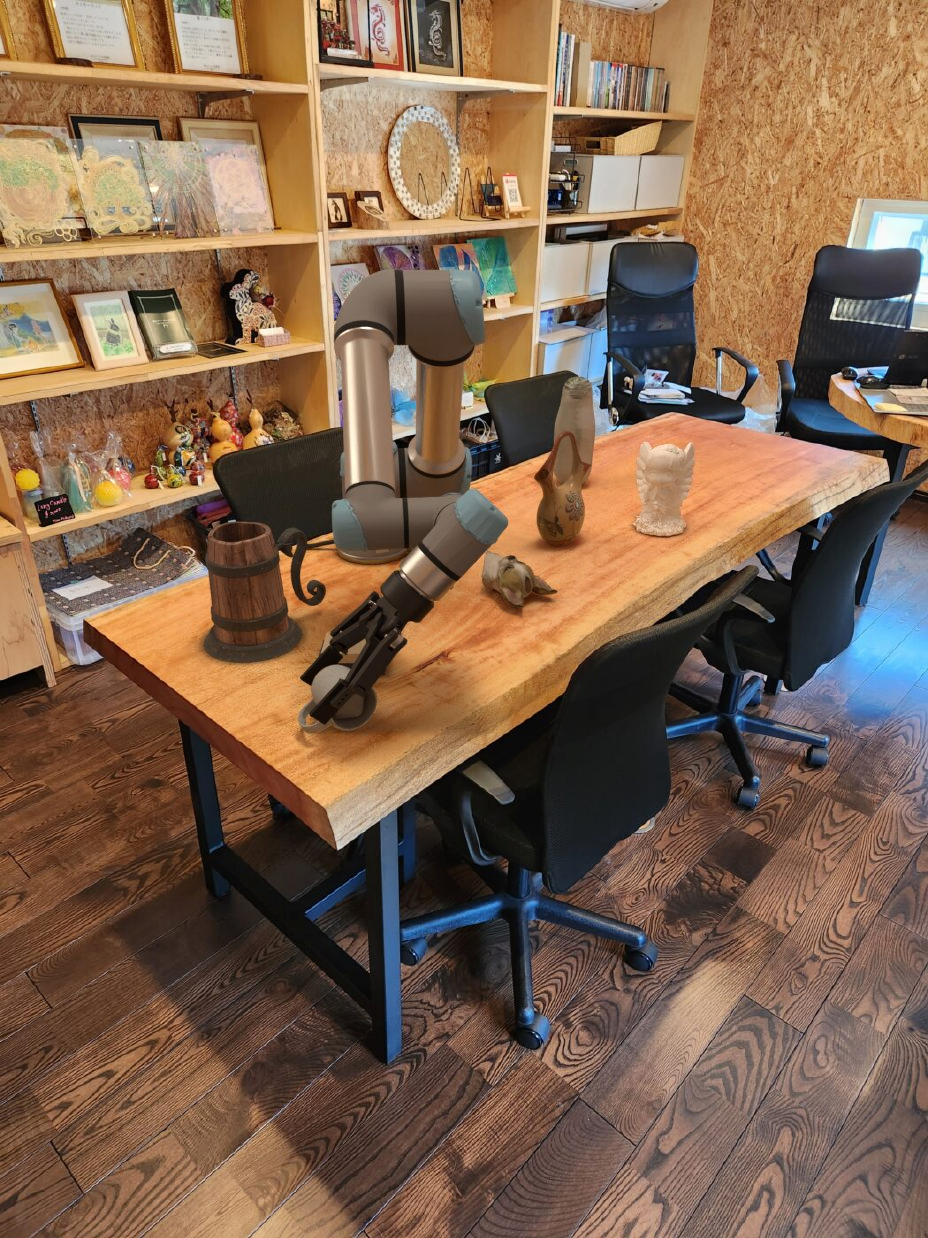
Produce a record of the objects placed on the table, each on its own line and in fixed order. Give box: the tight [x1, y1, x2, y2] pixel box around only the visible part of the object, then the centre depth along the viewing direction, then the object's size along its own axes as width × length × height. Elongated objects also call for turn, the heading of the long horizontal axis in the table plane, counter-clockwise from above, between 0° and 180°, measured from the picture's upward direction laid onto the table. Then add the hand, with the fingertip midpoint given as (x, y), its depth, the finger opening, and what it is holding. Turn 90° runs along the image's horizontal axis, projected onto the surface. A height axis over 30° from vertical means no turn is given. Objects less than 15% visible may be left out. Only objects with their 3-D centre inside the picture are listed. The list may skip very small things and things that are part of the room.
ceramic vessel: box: [533, 431, 591, 547], centre depth 177 cm, size 16×9×25 cm, turn 132°
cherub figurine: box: [632, 441, 696, 537], centre depth 187 cm, size 13×12×20 cm
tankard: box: [203, 521, 327, 664], centre depth 142 cm, size 24×17×20 cm
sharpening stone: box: [318, 631, 387, 676], centre depth 136 cm, size 11×8×4 cm
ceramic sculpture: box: [481, 550, 559, 609], centre depth 157 cm, size 11×9×15 cm
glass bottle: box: [553, 376, 596, 485], centre depth 211 cm, size 10×10×28 cm
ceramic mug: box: [297, 664, 378, 735], centre depth 118 cm, size 11×8×8 cm
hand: (312, 700), depth 118 cm, fingers closed on ceramic mug, 9 cm apart
